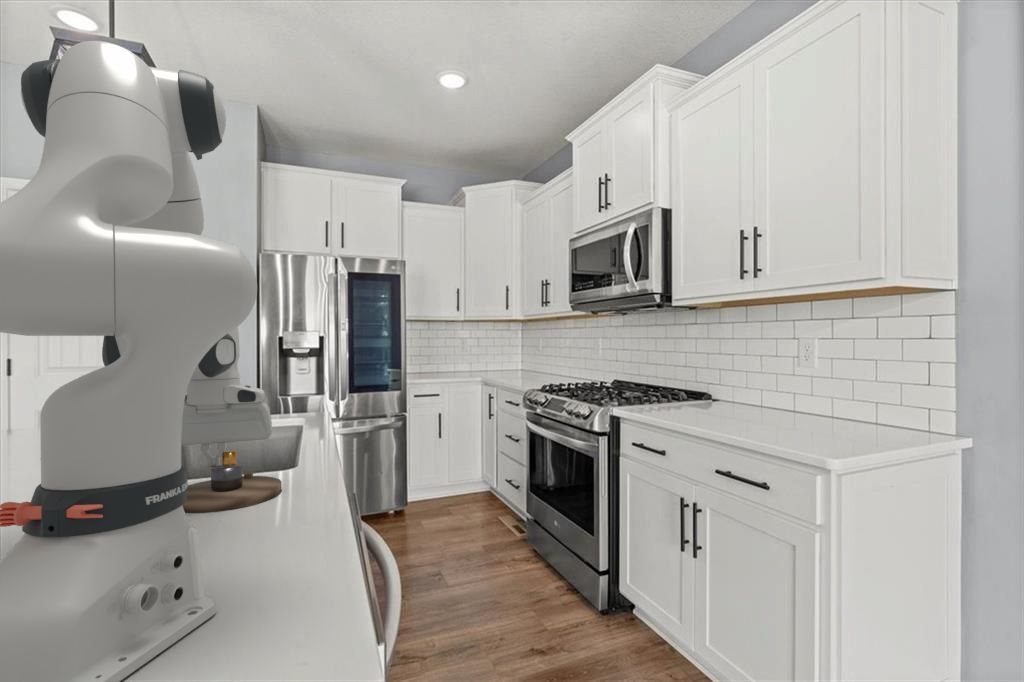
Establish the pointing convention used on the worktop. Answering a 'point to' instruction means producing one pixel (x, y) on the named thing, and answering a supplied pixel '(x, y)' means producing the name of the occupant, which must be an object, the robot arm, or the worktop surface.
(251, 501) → the dial plate
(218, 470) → the dial pointer
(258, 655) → the worktop surface
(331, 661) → the worktop surface
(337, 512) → the worktop surface
